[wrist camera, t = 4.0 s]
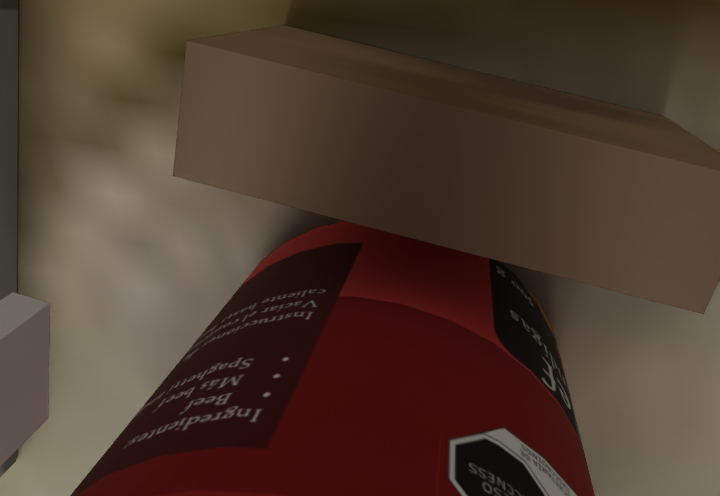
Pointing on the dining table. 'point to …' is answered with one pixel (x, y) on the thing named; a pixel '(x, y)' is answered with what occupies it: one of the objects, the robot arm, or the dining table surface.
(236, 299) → the canned food
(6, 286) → the tray
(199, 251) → the dining table surface
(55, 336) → the dining table surface
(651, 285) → the tan block
